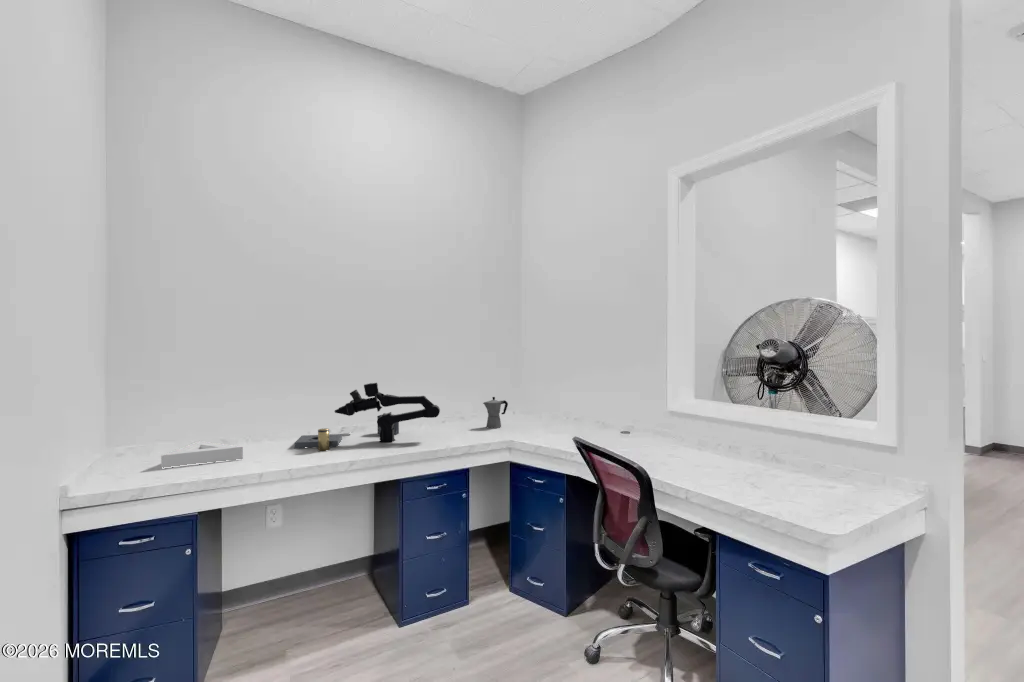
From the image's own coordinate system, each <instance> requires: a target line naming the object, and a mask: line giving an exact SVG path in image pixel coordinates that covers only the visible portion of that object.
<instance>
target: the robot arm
mask: <svg viewBox="0 0 1024 682" xmlns="http://www.w3.org/2000/svg"><path fill="white" fill-rule="evenodd" d="M363 389H364V392H365V393H364V394H365V396H367V398H362V396H361V394H360V393H359V391H358V389H354V390H352V391H351V392H349V396H351V397H352V400H350V401H349V402H347V403H345V404H344V405H343V406H340V407H338V408H337V409H335V410H334V413H335V414H341V415H344V416H348V417H350V416H351V417H352V416H353V415H355V414H356V413H359V412H367V411H369V410H374V409H376V410H377V412H378V413H379V412H380V411H381V409H383V407H384V408H386V407H391V406H396V405H417V404H418V405H421V406H422V407H423V408H422V409H419V410H413V411H409V412H404V413H403V412H402V413H397V414H392V411H390V412H387V413H386V412H384V413H382V414H380V415H381V416H380V417H379V418H378V419H377V421H376V424H377V427H378V426H379V427H381V432H380V435H379V443H393V442H394V441H396V439H395V435H394V429H392V428H393V426H394V423H396V422H399V423H400V422H401V423H402V422H405V421H410V420H411V421H412V420H415V419H420V418H427V419H428V418H429V419H430V418H437V417H438V416H439V415H440V413H441V409H440V407H439V406H438V404H434V403H433V402H431V401H430V400H429V399H428V398H427V397H426V396H425V395H416V396H415V395H412V396H410V395H409V396H397V395H394V394H384V393H382V392H379V387H378V382H374V383H373V382H370V383H366V384H365V383H364V384H363ZM392 441H393V442H392Z"/></svg>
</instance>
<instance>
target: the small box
mask: <svg viewBox="0 0 1024 682" xmlns="http://www.w3.org/2000/svg"><path fill="white" fill-rule="evenodd" d="M381 415H382V414H380V415H377V417H376V418H377V420H378V418H379V417H380V416H381ZM399 423H400V422H396V423H394V426H393V428H392V429H394V436H396V435H398V434H399V433H400V425H399ZM380 432H381V427H379V426H378V425H377V434H380Z"/></svg>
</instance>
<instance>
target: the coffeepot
mask: <svg viewBox="0 0 1024 682" xmlns="http://www.w3.org/2000/svg"><path fill="white" fill-rule="evenodd" d="M482 405H484V406H485V409H486V410H487V411H486V412H487V415H488V416H487V422H486V428H487V427H488V428H487V429H501V428H502V422H501V418H500V412H501V406H502V405H504V407H503V412H501V415H505V414H506V411H507V409H508V405H509V403H508V401H506V399H505V400H498V399H497V400H496V397H495V396H492V399H491V400H488V401H484V402H482ZM500 427H501V428H500Z"/></svg>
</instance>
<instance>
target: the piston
mask: <svg viewBox="0 0 1024 682" xmlns="http://www.w3.org/2000/svg"><path fill="white" fill-rule="evenodd" d="M317 433H318V434H317V435H318V448H317V451H318V450H319V451H318V452H327V451H326V450H329V451H330V447H329V435H330V428H324V427H323V428H318V429H317Z"/></svg>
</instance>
